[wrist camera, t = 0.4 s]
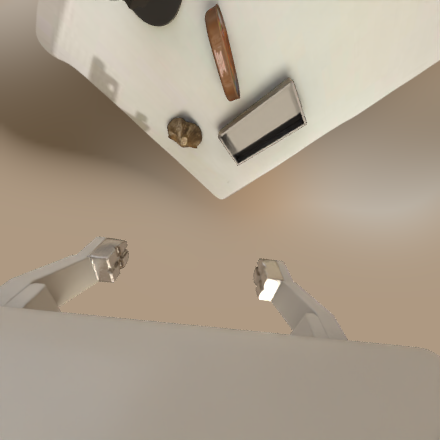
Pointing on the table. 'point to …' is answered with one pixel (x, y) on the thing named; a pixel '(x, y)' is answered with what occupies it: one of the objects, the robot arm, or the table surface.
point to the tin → (222, 52)
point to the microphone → (155, 10)
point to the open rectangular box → (264, 123)
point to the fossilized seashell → (184, 133)
